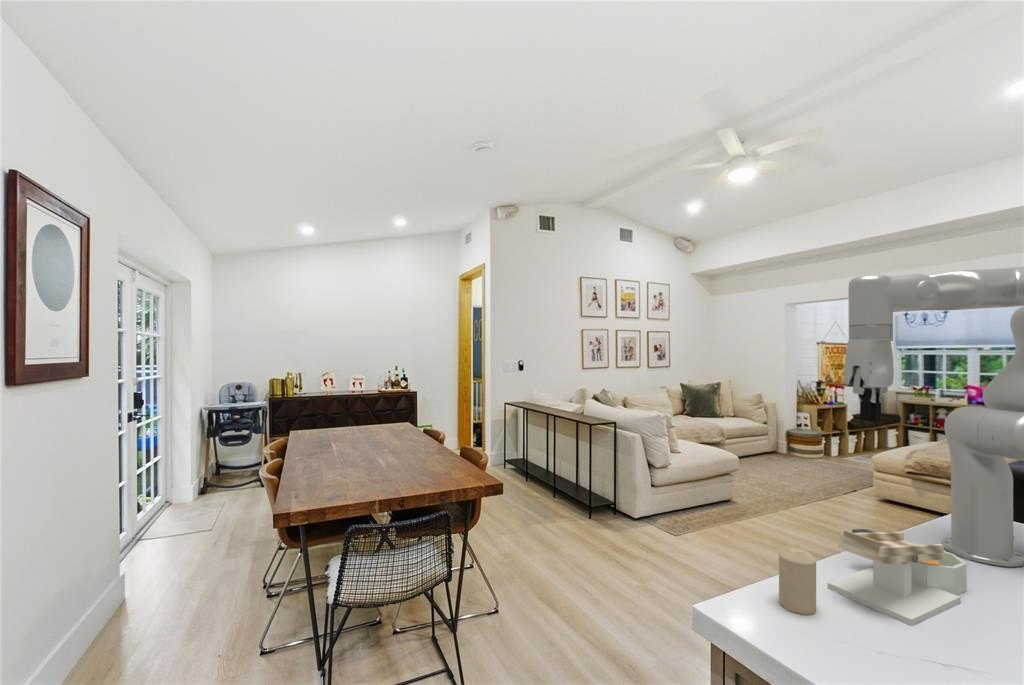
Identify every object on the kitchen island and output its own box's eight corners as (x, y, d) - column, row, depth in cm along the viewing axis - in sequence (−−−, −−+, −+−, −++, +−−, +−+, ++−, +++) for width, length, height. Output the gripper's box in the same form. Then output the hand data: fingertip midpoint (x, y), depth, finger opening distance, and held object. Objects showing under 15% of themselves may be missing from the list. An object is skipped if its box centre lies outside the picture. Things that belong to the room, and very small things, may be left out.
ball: (908, 557, 91) (911, 576, 91) (934, 566, 87) (937, 586, 87) (919, 548, 92) (922, 566, 93) (944, 556, 89) (947, 575, 89)
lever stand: (876, 570, 94) (876, 536, 94) (960, 602, 82) (960, 563, 82) (827, 587, 87) (827, 551, 87) (911, 625, 75) (911, 583, 75)
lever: (867, 535, 97) (868, 519, 97) (944, 560, 85) (945, 542, 86) (807, 536, 88) (808, 519, 89) (883, 565, 77) (885, 544, 77)
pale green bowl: (909, 564, 96) (909, 539, 96) (974, 587, 87) (974, 560, 87) (881, 574, 92) (881, 549, 92) (947, 600, 83) (947, 571, 83)
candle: (822, 617, 78) (822, 556, 78) (785, 613, 79) (785, 553, 79) (808, 599, 83) (808, 542, 83) (774, 596, 84) (774, 540, 84)
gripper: (870, 335, 106) (870, 416, 106) (830, 334, 100) (830, 420, 99) (910, 334, 99) (910, 421, 99) (869, 333, 93) (870, 426, 93)
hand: (870, 420), depth 99 cm, fingers closed
